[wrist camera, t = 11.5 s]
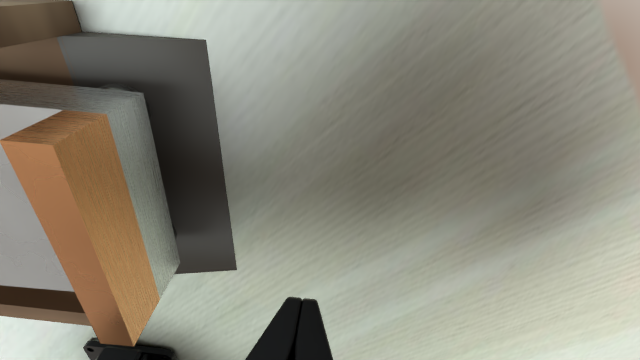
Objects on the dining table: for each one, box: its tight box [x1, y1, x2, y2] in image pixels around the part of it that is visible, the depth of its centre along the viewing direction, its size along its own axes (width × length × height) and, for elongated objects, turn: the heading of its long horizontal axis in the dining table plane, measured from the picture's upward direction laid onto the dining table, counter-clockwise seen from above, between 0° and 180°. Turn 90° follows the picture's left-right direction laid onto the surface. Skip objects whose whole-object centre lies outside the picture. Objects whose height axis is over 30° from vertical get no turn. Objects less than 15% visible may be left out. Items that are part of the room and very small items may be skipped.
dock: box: [0, 0, 237, 326], centre depth 14 cm, size 14×16×4 cm
